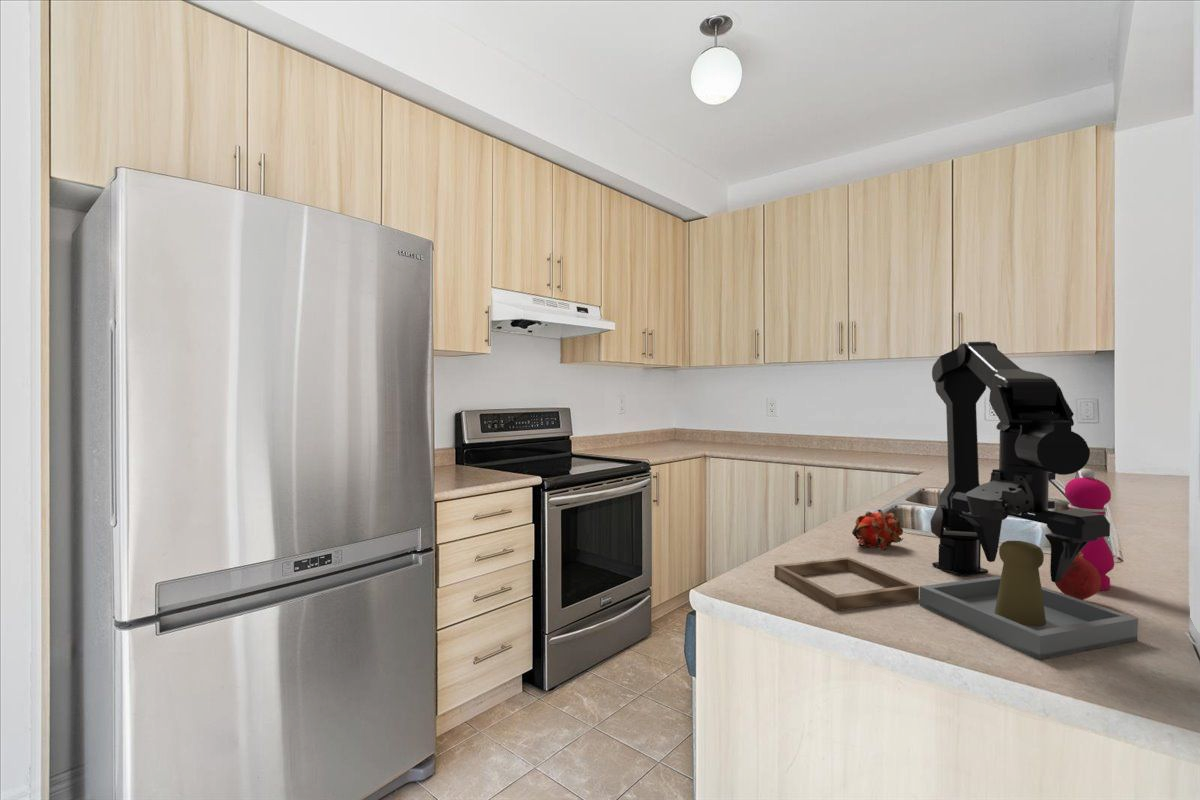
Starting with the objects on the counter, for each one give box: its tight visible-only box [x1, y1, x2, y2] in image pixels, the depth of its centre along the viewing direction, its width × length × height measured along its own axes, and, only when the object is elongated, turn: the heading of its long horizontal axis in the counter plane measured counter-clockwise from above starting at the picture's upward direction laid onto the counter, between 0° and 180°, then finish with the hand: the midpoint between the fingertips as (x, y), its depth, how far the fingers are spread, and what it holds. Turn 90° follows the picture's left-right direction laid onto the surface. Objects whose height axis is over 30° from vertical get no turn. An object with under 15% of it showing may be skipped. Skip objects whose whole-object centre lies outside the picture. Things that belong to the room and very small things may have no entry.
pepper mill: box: [1064, 468, 1115, 591], centre depth 96 cm, size 7×7×20 cm
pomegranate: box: [1054, 552, 1101, 601], centre depth 88 cm, size 6×6×8 cm
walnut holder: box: [774, 556, 920, 612], centre depth 95 cm, size 16×16×2 cm
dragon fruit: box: [851, 509, 904, 551], centre depth 118 cm, size 8×8×12 cm
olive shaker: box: [995, 540, 1046, 626], centre depth 81 cm, size 6×6×11 cm
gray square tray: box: [919, 574, 1139, 661], centre depth 81 cm, size 18×18×3 cm
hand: (1021, 571), depth 81 cm, fingers open, 9 cm apart
